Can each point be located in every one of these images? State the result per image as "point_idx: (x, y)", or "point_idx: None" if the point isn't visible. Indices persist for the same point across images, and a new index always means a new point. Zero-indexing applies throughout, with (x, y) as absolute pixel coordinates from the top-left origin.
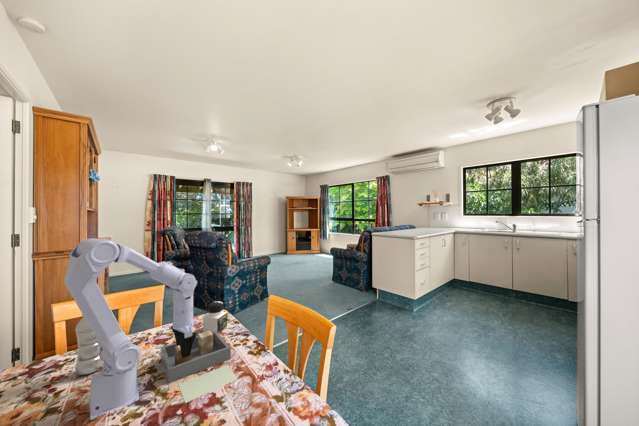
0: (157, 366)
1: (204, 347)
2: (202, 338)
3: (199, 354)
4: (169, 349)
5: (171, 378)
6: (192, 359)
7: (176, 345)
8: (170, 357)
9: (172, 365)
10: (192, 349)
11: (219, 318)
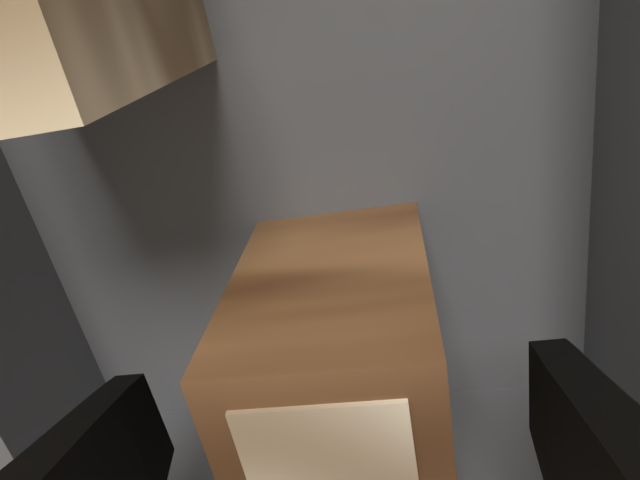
0: None
1: (163, 13)
2: (82, 88)
3: (182, 81)
4: None
5: None
6: (274, 178)
7: (8, 406)
8: (113, 373)
9: None
10: (5, 159)
11: None
